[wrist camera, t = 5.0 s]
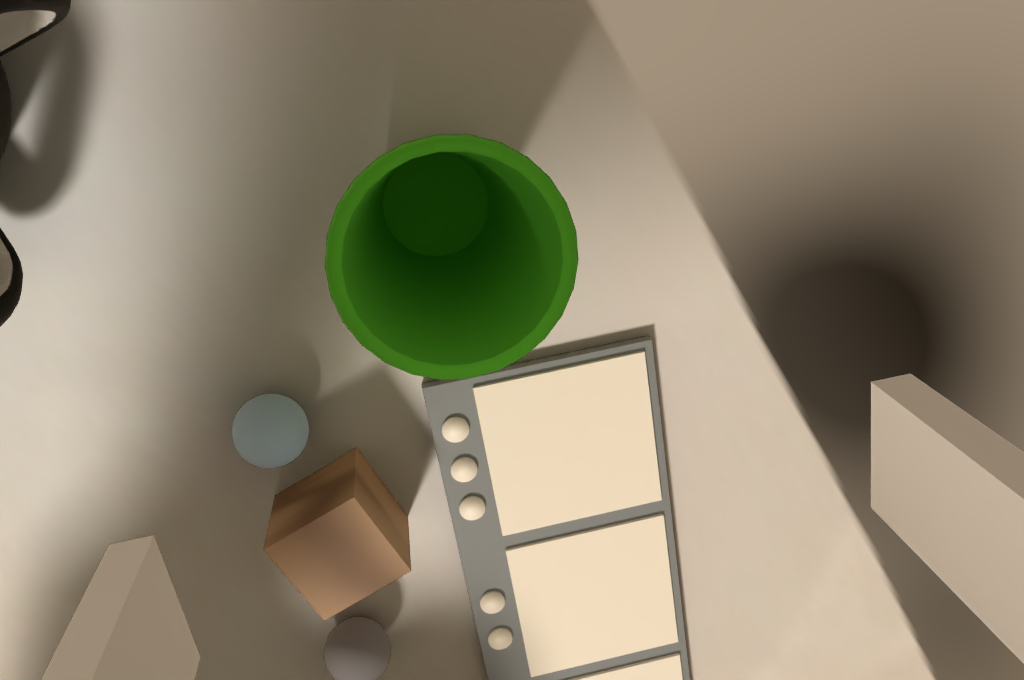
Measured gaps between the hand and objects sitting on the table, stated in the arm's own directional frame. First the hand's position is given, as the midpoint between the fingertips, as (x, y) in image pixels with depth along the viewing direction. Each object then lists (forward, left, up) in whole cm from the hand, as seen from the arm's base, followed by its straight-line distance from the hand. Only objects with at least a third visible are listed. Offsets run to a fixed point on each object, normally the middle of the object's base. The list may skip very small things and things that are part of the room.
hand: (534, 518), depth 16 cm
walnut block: (-8, -15, -27) cm, 32 cm away
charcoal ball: (-9, -23, -27) cm, 37 cm away
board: (+3, -24, -27) cm, 36 cm away
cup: (0, 0, -27) cm, 27 cm away
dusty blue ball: (-10, -9, -27) cm, 30 cm away
